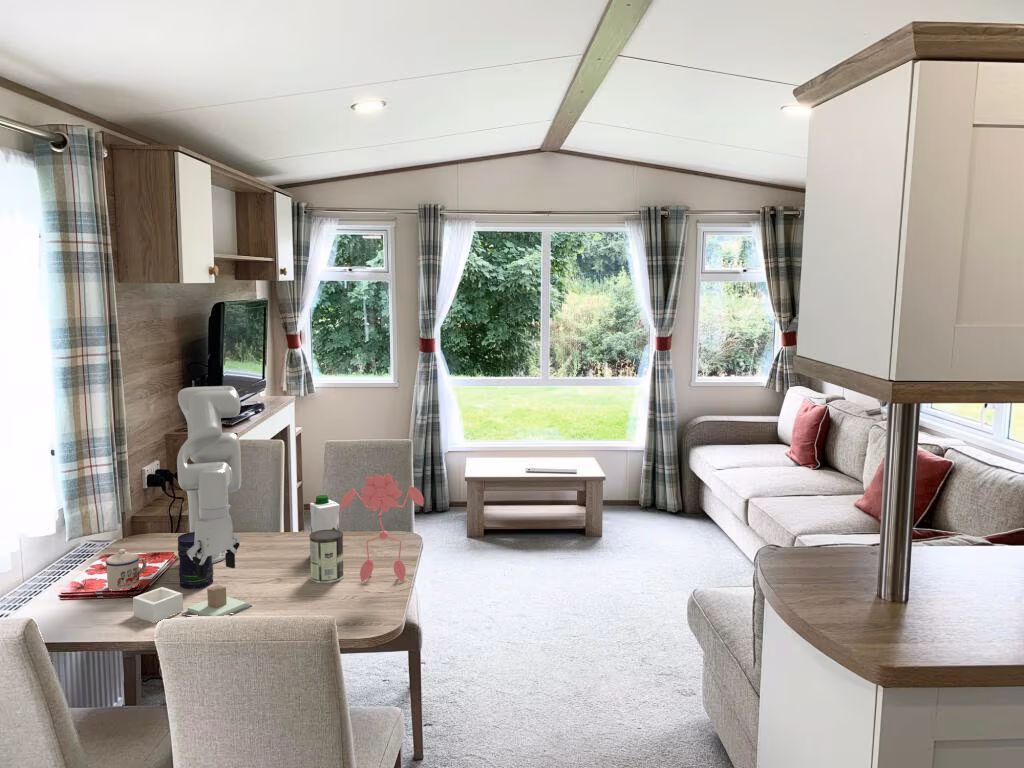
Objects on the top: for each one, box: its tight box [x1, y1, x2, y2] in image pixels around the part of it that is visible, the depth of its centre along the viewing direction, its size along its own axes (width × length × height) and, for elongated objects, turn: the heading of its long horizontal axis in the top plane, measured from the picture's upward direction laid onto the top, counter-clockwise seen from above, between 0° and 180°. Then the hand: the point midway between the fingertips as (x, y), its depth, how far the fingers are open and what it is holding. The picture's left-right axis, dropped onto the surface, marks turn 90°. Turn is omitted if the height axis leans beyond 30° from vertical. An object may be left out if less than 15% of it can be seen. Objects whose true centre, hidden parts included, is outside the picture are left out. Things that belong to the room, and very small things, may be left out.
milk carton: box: [309, 494, 341, 534], centre depth 263 cm, size 9×9×20 cm
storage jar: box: [177, 531, 214, 591], centre depth 237 cm, size 10×10×15 cm
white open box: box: [132, 586, 184, 624], centre depth 215 cm, size 9×9×6 cm
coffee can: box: [309, 529, 345, 584], centre depth 243 cm, size 10×10×14 cm
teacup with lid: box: [105, 548, 147, 590], centre depth 235 cm, size 12×9×12 cm
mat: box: [181, 603, 253, 616], centre depth 218 cm, size 14×12×1 cm
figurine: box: [340, 473, 425, 594], centre depth 237 cm, size 15×26×35 cm, turn 91°
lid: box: [187, 584, 247, 616], centre depth 218 cm, size 11×11×6 cm
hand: (216, 572), depth 216 cm, fingers open, 9 cm apart
